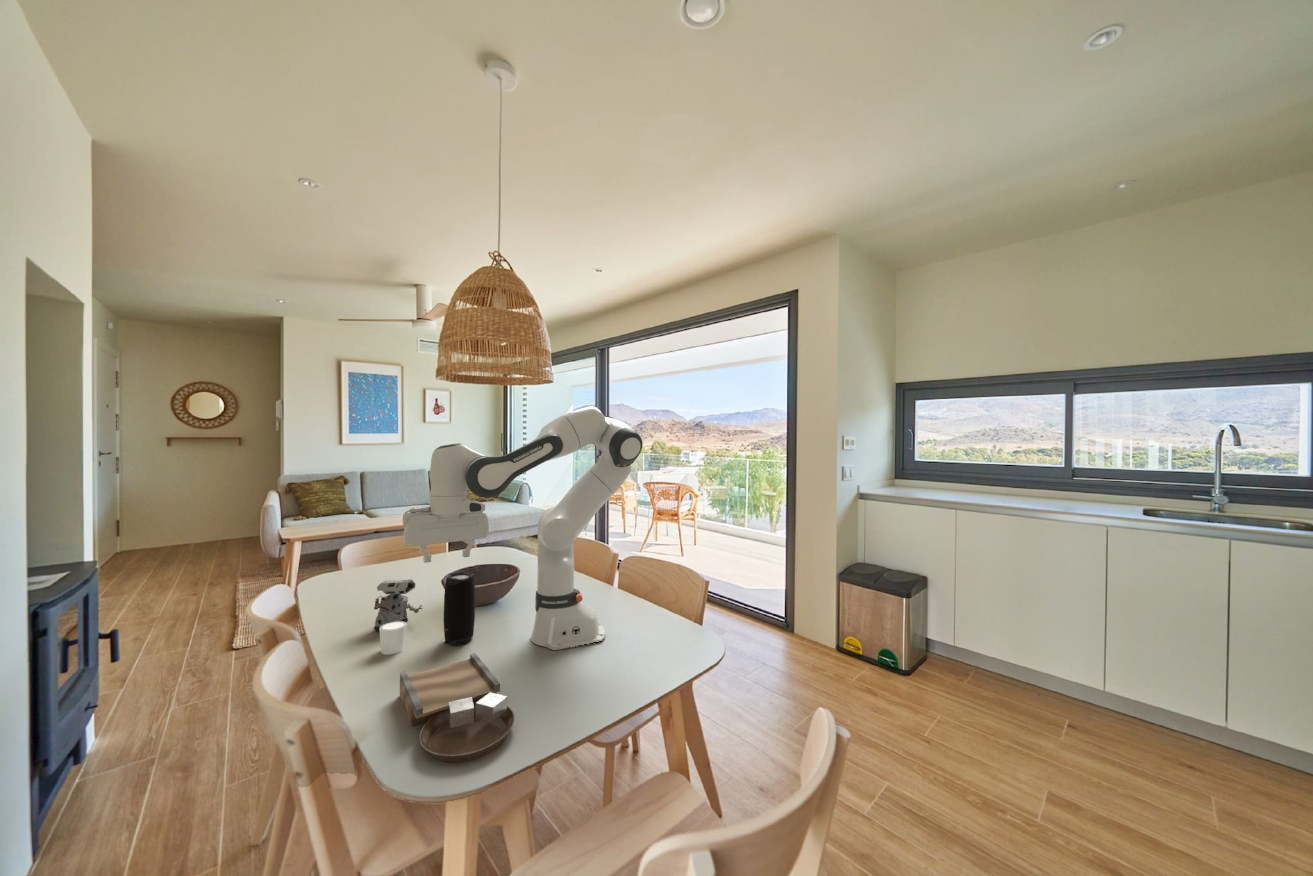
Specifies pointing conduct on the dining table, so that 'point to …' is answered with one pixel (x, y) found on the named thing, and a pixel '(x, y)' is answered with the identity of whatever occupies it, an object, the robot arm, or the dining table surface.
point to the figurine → (393, 602)
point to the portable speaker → (459, 608)
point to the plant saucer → (464, 736)
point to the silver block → (491, 707)
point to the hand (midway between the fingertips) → (447, 559)
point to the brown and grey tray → (445, 687)
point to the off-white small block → (461, 712)
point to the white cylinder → (392, 637)
